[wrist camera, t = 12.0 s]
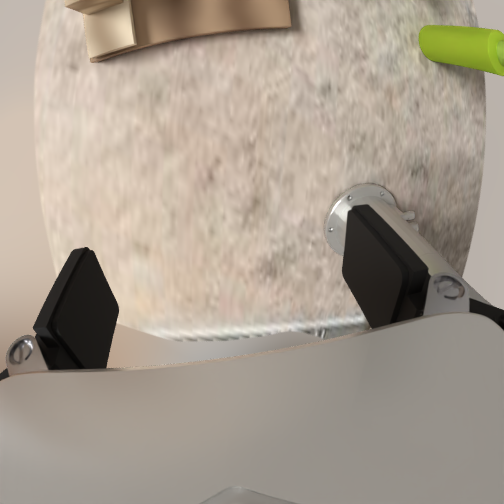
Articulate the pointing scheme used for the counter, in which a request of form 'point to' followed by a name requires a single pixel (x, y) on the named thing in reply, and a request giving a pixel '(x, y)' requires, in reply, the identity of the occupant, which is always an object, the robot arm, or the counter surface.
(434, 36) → the soap dispenser
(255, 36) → the counter surface
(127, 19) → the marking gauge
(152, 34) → the walnut board
